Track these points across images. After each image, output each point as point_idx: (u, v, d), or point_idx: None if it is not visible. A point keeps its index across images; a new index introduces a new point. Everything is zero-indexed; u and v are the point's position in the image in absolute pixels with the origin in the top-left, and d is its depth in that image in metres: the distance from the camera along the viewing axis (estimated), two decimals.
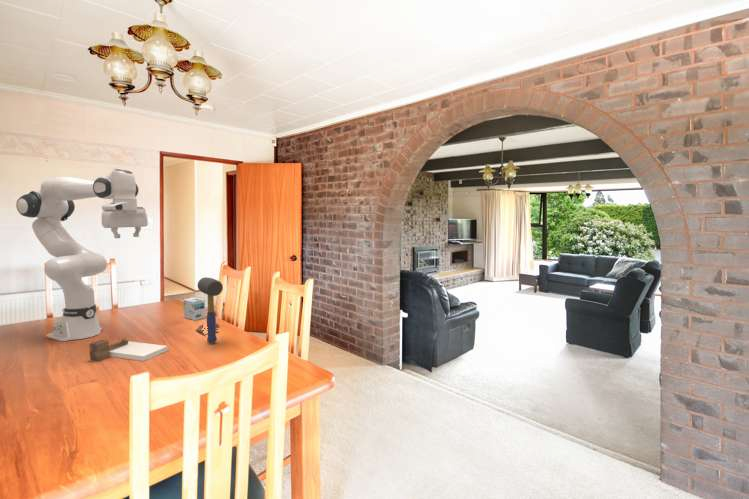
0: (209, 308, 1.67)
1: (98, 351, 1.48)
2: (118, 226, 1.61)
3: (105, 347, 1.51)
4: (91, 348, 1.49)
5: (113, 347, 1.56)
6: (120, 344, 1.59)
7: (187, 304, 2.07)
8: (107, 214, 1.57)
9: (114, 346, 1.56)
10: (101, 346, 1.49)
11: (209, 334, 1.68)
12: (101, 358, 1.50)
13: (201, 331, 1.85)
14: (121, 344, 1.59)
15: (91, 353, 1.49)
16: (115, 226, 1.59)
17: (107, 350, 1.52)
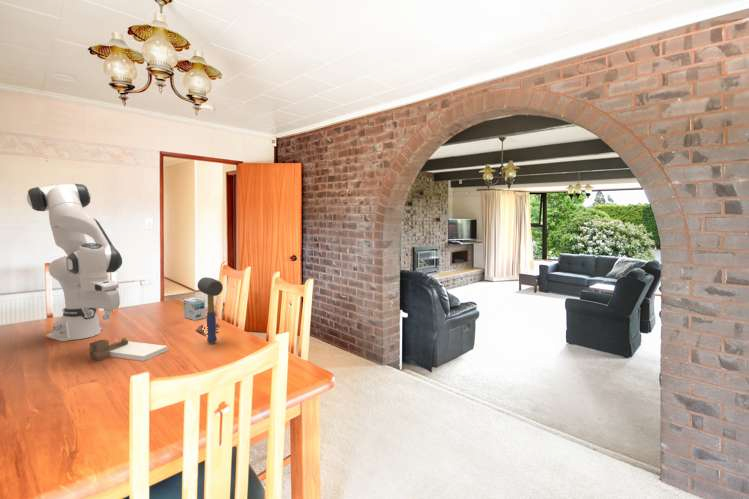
0: (209, 308, 1.67)
1: (98, 351, 1.48)
2: None
3: (105, 347, 1.51)
4: (91, 348, 1.49)
5: (113, 347, 1.56)
6: (120, 344, 1.59)
7: (187, 304, 2.07)
8: (116, 293, 1.47)
9: (114, 346, 1.56)
10: (101, 346, 1.49)
11: (209, 334, 1.68)
12: (101, 358, 1.50)
13: (201, 331, 1.85)
14: (121, 344, 1.59)
15: (91, 353, 1.49)
16: None
17: (107, 350, 1.52)
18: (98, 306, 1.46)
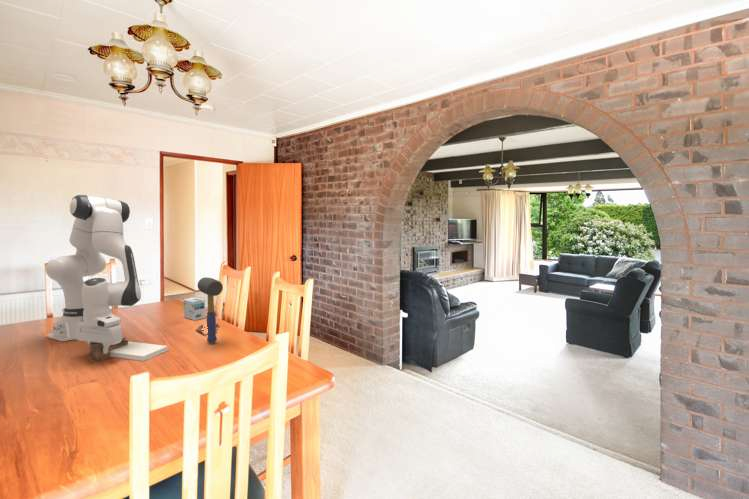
0: (209, 308, 1.67)
1: (98, 351, 1.48)
2: None
3: None
4: (91, 348, 1.49)
5: (113, 347, 1.56)
6: (120, 344, 1.59)
7: (187, 304, 2.07)
8: (119, 328, 1.49)
9: (114, 346, 1.56)
10: (101, 346, 1.49)
11: (209, 334, 1.68)
12: (101, 358, 1.50)
13: (201, 331, 1.85)
14: (121, 344, 1.59)
15: (91, 353, 1.49)
16: None
17: None
18: (100, 341, 1.48)
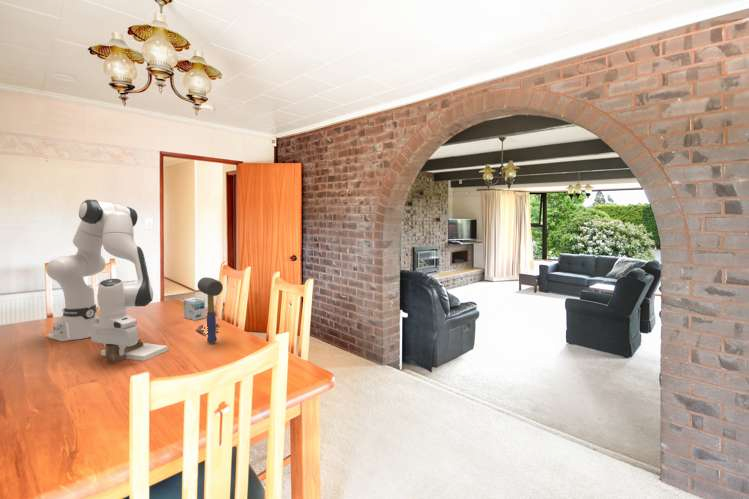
0: (209, 308, 1.67)
1: (114, 354, 1.46)
2: None
3: None
4: (107, 350, 1.46)
5: (129, 349, 1.53)
6: (135, 346, 1.56)
7: (187, 304, 2.07)
8: (135, 329, 1.46)
9: (130, 348, 1.54)
10: (117, 348, 1.47)
11: (209, 334, 1.68)
12: (117, 360, 1.47)
13: (201, 331, 1.85)
14: (136, 346, 1.57)
15: (107, 355, 1.47)
16: None
17: None
18: (116, 343, 1.46)
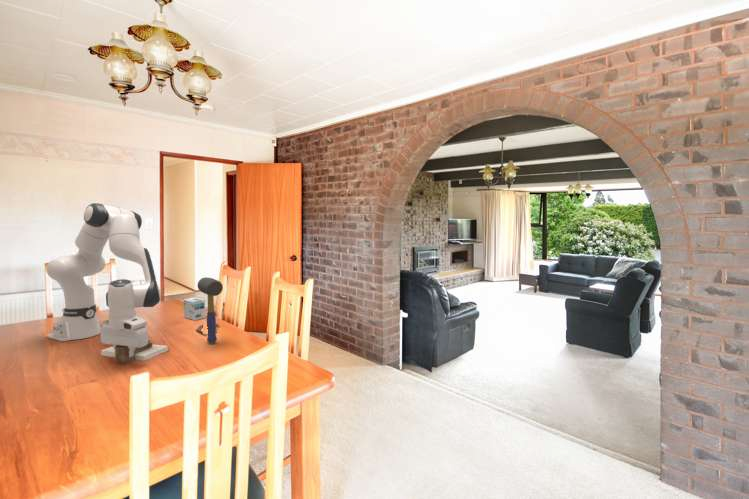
0: (209, 308, 1.67)
1: (124, 355, 1.45)
2: None
3: None
4: (117, 351, 1.45)
5: (138, 350, 1.52)
6: (145, 347, 1.55)
7: (187, 304, 2.07)
8: (145, 330, 1.45)
9: (139, 349, 1.53)
10: (127, 350, 1.46)
11: (209, 334, 1.68)
12: (127, 362, 1.46)
13: (201, 331, 1.85)
14: (146, 347, 1.56)
15: (117, 357, 1.45)
16: None
17: None
18: (126, 344, 1.44)
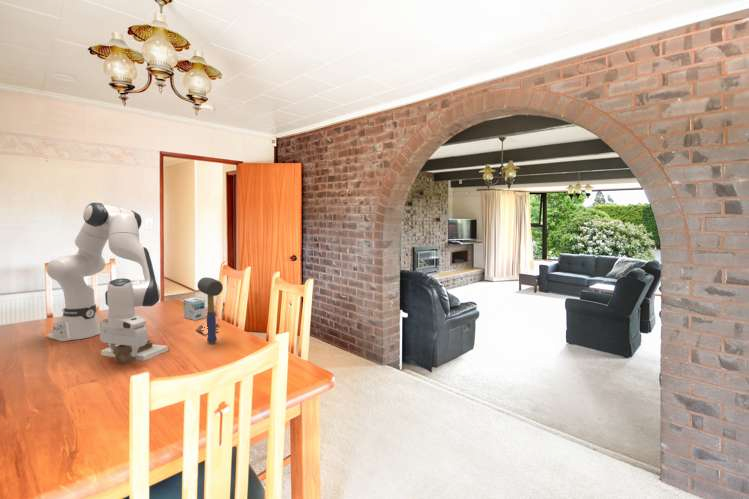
0: (209, 308, 1.67)
1: (124, 355, 1.45)
2: None
3: (131, 350, 1.48)
4: (117, 351, 1.45)
5: (138, 350, 1.52)
6: (145, 347, 1.55)
7: (187, 304, 2.07)
8: (144, 330, 1.45)
9: (139, 349, 1.53)
10: (127, 350, 1.46)
11: (209, 334, 1.68)
12: (127, 362, 1.46)
13: (201, 331, 1.85)
14: (146, 347, 1.56)
15: (117, 357, 1.45)
16: None
17: None
18: (125, 344, 1.44)
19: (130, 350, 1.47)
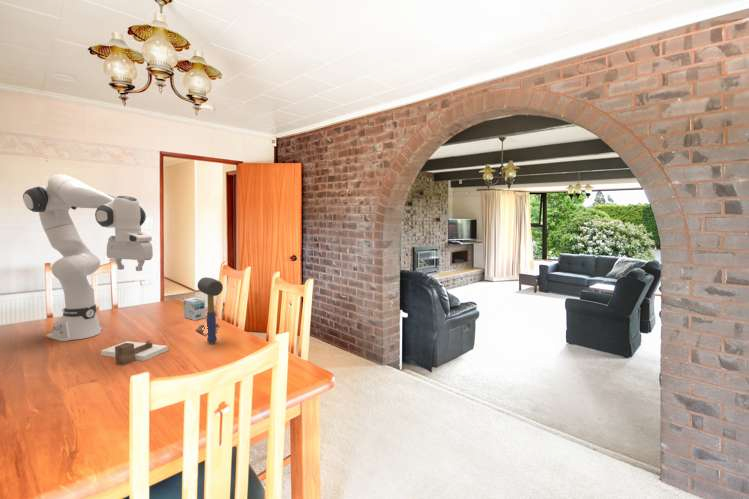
0: (209, 308, 1.67)
1: (124, 355, 1.45)
2: None
3: (131, 350, 1.48)
4: (117, 351, 1.45)
5: (138, 350, 1.52)
6: (145, 347, 1.55)
7: (187, 304, 2.07)
8: (150, 245, 1.50)
9: (139, 349, 1.53)
10: (127, 350, 1.46)
11: (209, 334, 1.68)
12: (127, 362, 1.46)
13: (201, 331, 1.85)
14: (146, 347, 1.56)
15: (117, 357, 1.45)
16: None
17: (133, 353, 1.49)
18: (131, 258, 1.49)
19: (130, 350, 1.47)
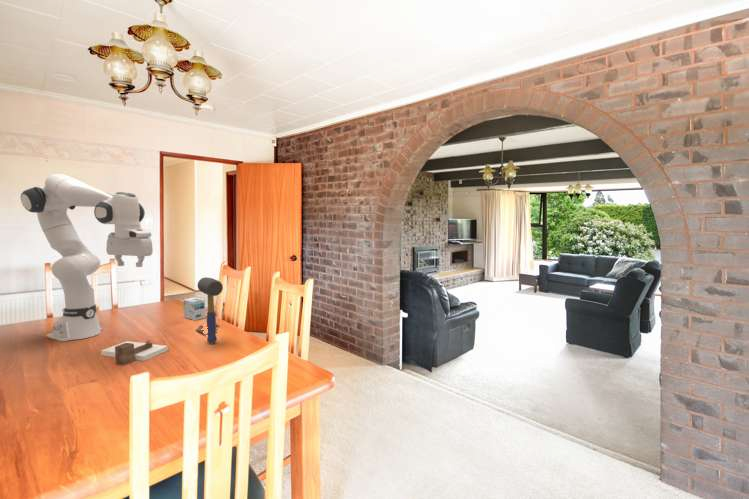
0: (209, 308, 1.67)
1: (124, 355, 1.45)
2: None
3: (131, 350, 1.48)
4: (117, 351, 1.45)
5: (138, 350, 1.52)
6: (145, 347, 1.55)
7: (187, 304, 2.07)
8: (149, 241, 1.51)
9: (139, 349, 1.53)
10: (127, 350, 1.46)
11: (209, 334, 1.68)
12: (127, 362, 1.46)
13: (201, 331, 1.85)
14: (146, 347, 1.56)
15: (117, 357, 1.45)
16: None
17: (133, 353, 1.49)
18: (131, 254, 1.50)
19: (130, 350, 1.47)
